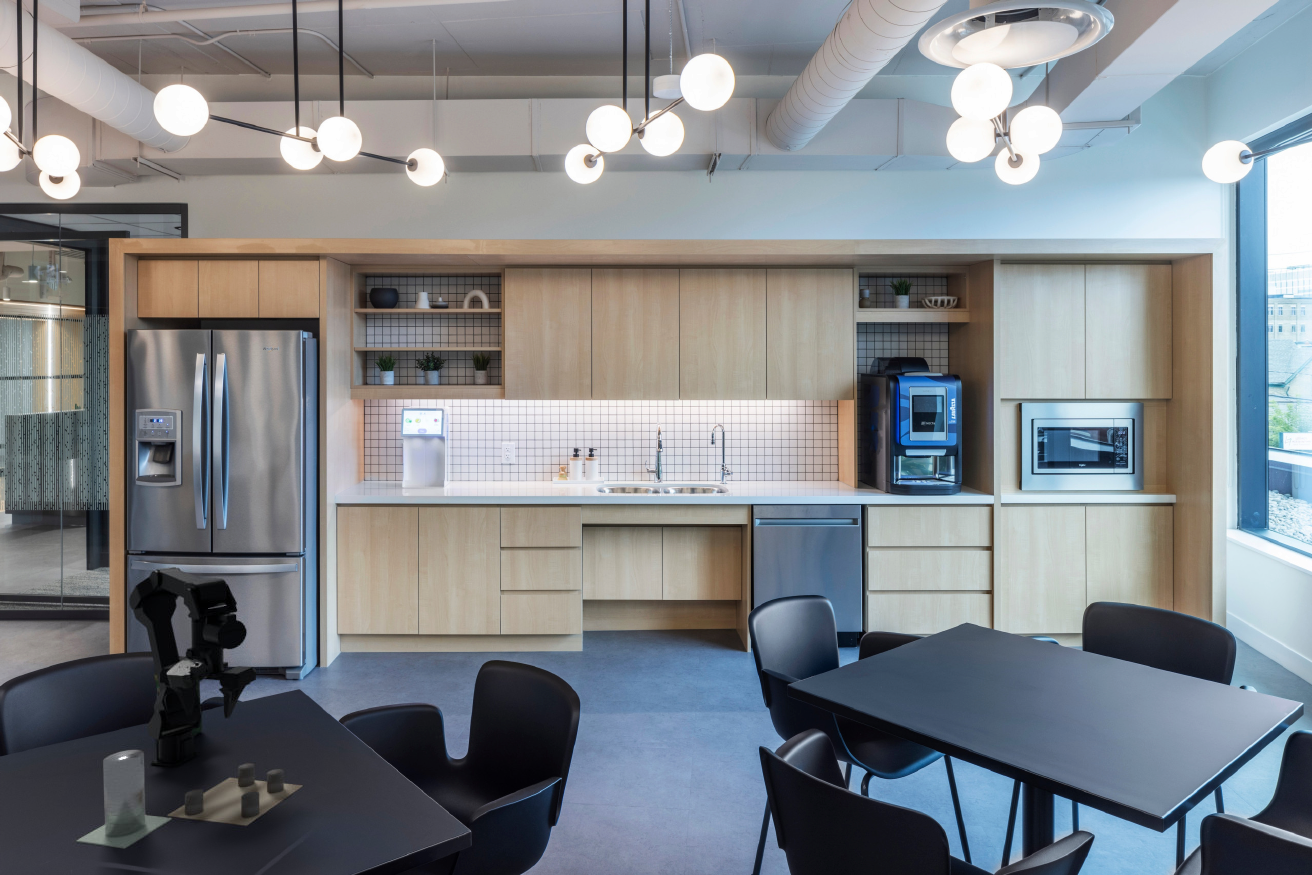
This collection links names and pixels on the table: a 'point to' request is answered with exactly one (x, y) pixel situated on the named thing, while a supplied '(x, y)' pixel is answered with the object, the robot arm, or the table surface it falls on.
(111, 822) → the clear upright cylinder
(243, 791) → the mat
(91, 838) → the sage pad
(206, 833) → the table surface
